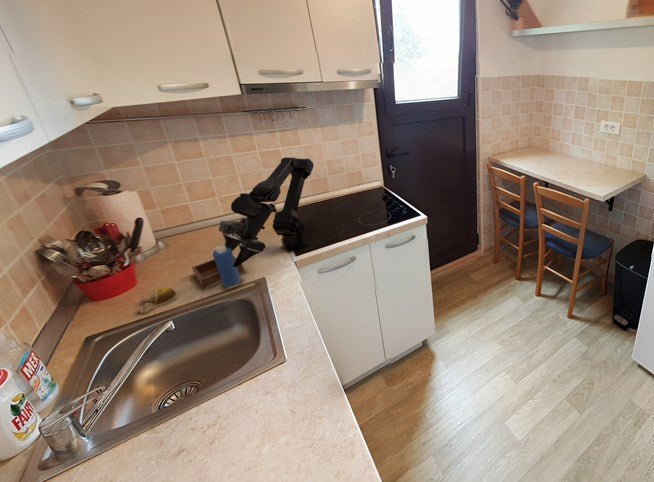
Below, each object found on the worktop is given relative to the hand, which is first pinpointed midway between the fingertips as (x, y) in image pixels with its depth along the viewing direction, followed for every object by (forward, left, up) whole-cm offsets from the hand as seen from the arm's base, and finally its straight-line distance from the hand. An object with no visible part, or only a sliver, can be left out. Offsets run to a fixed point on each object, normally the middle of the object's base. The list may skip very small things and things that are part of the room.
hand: (228, 262), depth 109 cm
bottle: (+1, 0, -8) cm, 8 cm away
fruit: (+19, -9, -8) cm, 22 cm away
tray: (+2, -10, -8) cm, 13 cm away
